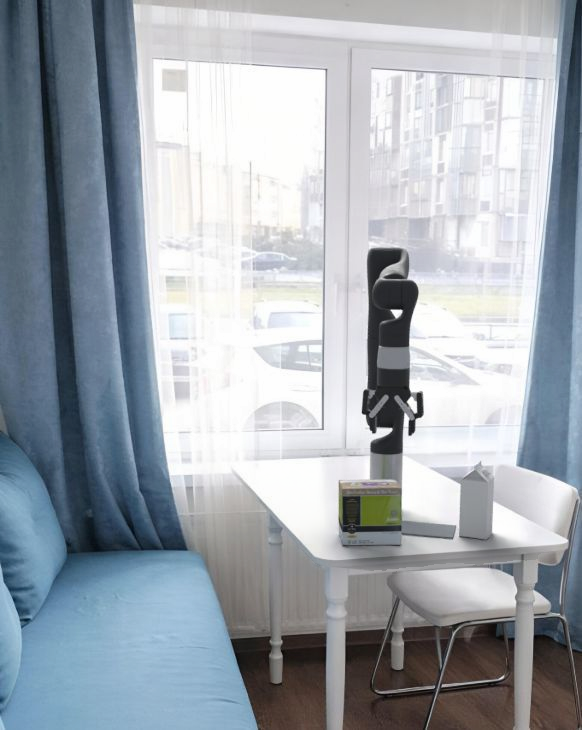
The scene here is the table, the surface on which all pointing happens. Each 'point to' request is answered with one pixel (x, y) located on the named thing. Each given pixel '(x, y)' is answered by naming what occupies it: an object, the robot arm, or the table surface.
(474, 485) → the milk carton
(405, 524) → the mat
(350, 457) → the table surface
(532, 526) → the table surface
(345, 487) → the tea box
